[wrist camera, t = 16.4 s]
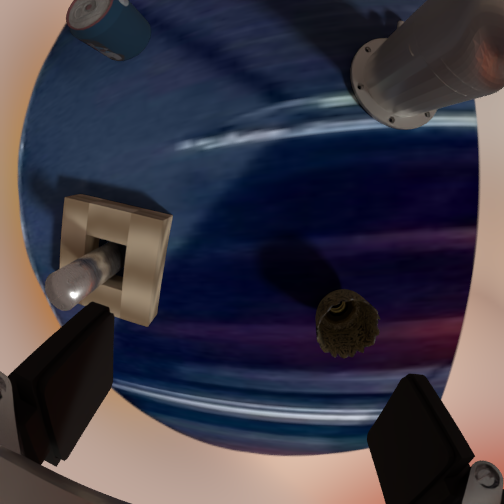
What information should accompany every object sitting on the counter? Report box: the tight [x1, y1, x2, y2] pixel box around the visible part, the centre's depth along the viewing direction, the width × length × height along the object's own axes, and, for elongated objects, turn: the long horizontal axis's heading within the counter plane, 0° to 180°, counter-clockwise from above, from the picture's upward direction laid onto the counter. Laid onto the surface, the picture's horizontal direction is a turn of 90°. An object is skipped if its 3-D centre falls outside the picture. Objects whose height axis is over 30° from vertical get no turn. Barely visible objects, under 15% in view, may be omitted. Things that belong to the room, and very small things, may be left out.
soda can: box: [66, 0, 151, 61], centre depth 27 cm, size 7×7×12 cm
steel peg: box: [45, 241, 127, 311], centre depth 33 cm, size 4×4×14 cm
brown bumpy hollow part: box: [316, 289, 380, 358], centre depth 37 cm, size 8×7×8 cm
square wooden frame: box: [60, 194, 173, 327], centre depth 38 cm, size 14×14×4 cm
